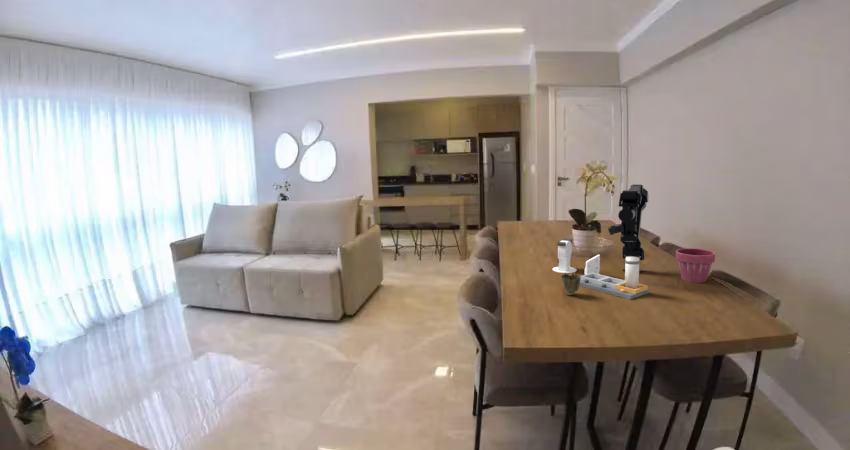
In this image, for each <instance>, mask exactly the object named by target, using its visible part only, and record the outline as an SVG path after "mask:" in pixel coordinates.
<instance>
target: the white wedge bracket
mask: <svg viewBox="0 0 850 450" xmlns="http://www.w3.org/2000/svg"><path fill="white" fill-rule="evenodd" d="M600 260H601V255H600V254H596V255H595V256H593V257H592V258H590V259H588V260H586V261H585V267H584V274H583V275H586V274H590V273H596V274H600V265H601V263H600V262H601V261H600Z"/></svg>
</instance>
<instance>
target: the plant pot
mask: <svg viewBox="0 0 850 450" xmlns="http://www.w3.org/2000/svg"><path fill="white" fill-rule="evenodd" d="M675 259H676V260H677V262H678V267H679V273H680V277H681V280H682V281H685V282H688V283H698V284H699V283H705V282H706V281H707V279H708V276H709V274H710V271H711V268H712V264H713V263H715V261H716V252H714V251H712V250H709V249H704V248H696V247H695V248H694V247H693V248H689V247H685V248H678V249H676V250H675Z"/></svg>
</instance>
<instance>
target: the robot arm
mask: <svg viewBox="0 0 850 450" xmlns="http://www.w3.org/2000/svg"><path fill="white" fill-rule="evenodd" d="M647 203H649V191H648V190H647V189H646V188H644V185H643V184H631V185H630V188H629V189H627V190H626V189H624V190H622V192H620V195H619V201H618V207H621V208H622V209H620V210H619V212H618V217H617V218H618V219H619V220H620V221H621V222H620V223H619V224H613V225H610V226H609V227H607V230H608V233H609V235H610V236H613V235H614V234H618V233H620V239H619V240H620V242H621V243H622V244H624V245H623V247H622V259H624V260H625V259H626V257H638V258H640V259H639V260H640V261H644V260H645V258H646V257H645V256H646V255H645V250H644V248H643V245H642V242H641V241H640V231H641V223H642V216H643V215H642V214H643V211H644V210H645V209H646V207H647ZM640 263H641V262H640ZM640 263H639V273H640V272H643V269H640V266H641V264H640ZM623 271H624V272H625V268H624V269H622V272H623Z"/></svg>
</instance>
